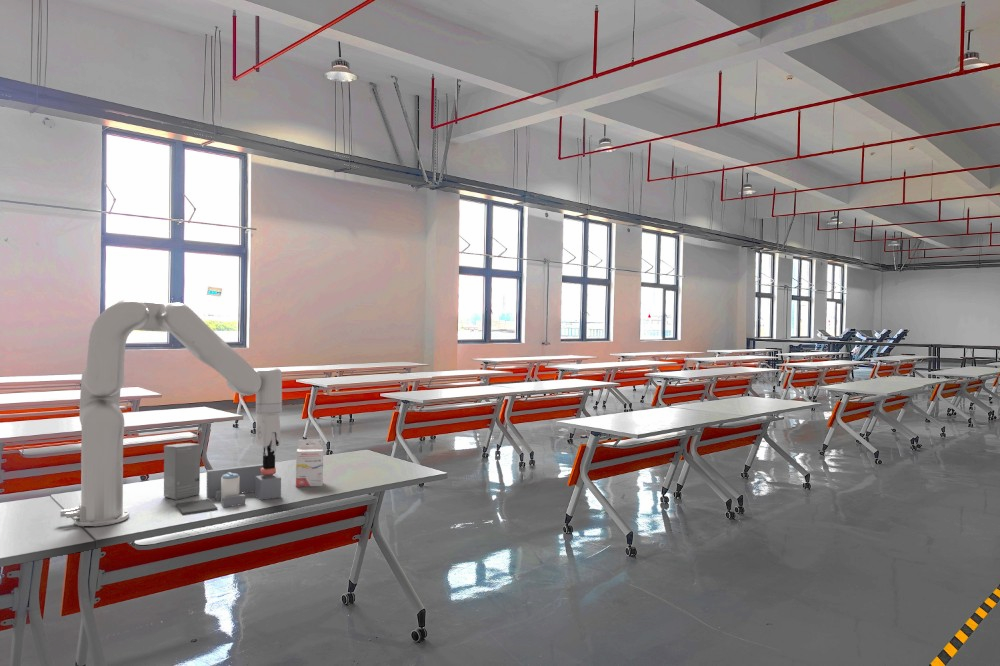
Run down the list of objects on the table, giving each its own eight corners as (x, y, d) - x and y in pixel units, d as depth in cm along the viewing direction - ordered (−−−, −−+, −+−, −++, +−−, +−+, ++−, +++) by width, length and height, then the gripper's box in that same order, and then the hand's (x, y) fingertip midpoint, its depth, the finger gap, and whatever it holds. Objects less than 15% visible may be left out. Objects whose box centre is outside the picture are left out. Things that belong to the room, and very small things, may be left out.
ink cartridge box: (295, 487, 210) (296, 442, 210) (296, 483, 215) (296, 439, 215) (323, 486, 212) (323, 441, 212) (323, 482, 217) (323, 438, 217)
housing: (218, 508, 186) (218, 480, 186) (206, 496, 198) (206, 470, 198) (284, 498, 197) (284, 472, 197) (269, 487, 209) (270, 463, 209)
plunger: (262, 490, 196) (262, 470, 196) (258, 487, 199) (258, 467, 199) (277, 488, 198) (277, 468, 198) (273, 485, 202) (273, 466, 202)
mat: (182, 514, 179) (182, 512, 179) (175, 505, 188) (175, 503, 188) (217, 509, 184) (217, 507, 184) (208, 500, 193) (208, 498, 193)
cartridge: (223, 505, 189) (223, 476, 189) (219, 501, 193) (219, 472, 193) (241, 502, 192) (241, 474, 192) (236, 498, 196) (237, 470, 196)
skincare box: (175, 500, 193) (176, 447, 193) (161, 497, 197) (162, 445, 196) (201, 494, 200) (202, 443, 200) (187, 491, 204) (188, 440, 204)
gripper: (249, 406, 202) (249, 465, 203) (263, 412, 190) (263, 474, 191) (273, 404, 207) (274, 462, 207) (289, 410, 195) (289, 471, 195)
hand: (269, 468), depth 199 cm, fingers closed
